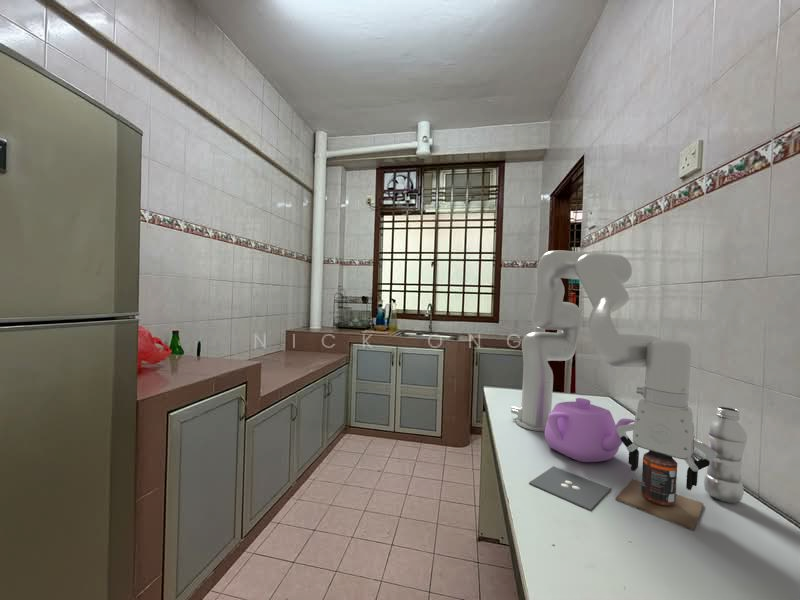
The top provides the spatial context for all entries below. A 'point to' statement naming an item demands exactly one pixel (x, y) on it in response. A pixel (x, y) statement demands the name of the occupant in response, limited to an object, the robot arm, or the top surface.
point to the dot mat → (571, 487)
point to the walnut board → (679, 513)
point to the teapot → (583, 431)
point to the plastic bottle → (726, 456)
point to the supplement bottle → (659, 478)
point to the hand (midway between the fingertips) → (660, 477)
